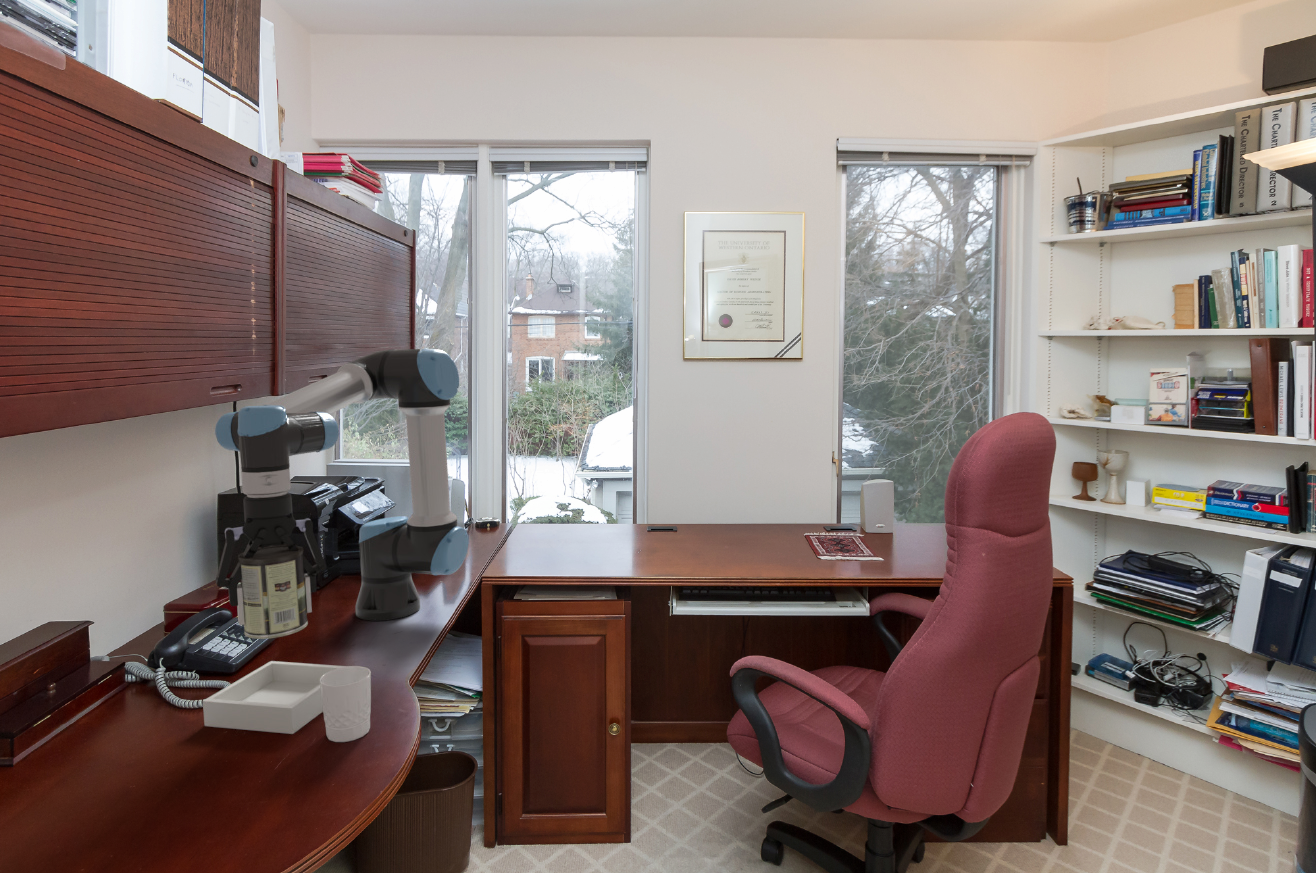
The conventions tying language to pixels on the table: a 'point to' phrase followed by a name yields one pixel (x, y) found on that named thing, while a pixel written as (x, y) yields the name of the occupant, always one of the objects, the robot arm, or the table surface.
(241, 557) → the coffee can
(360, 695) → the white cup
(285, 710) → the tray
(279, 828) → the table surface
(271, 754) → the table surface
